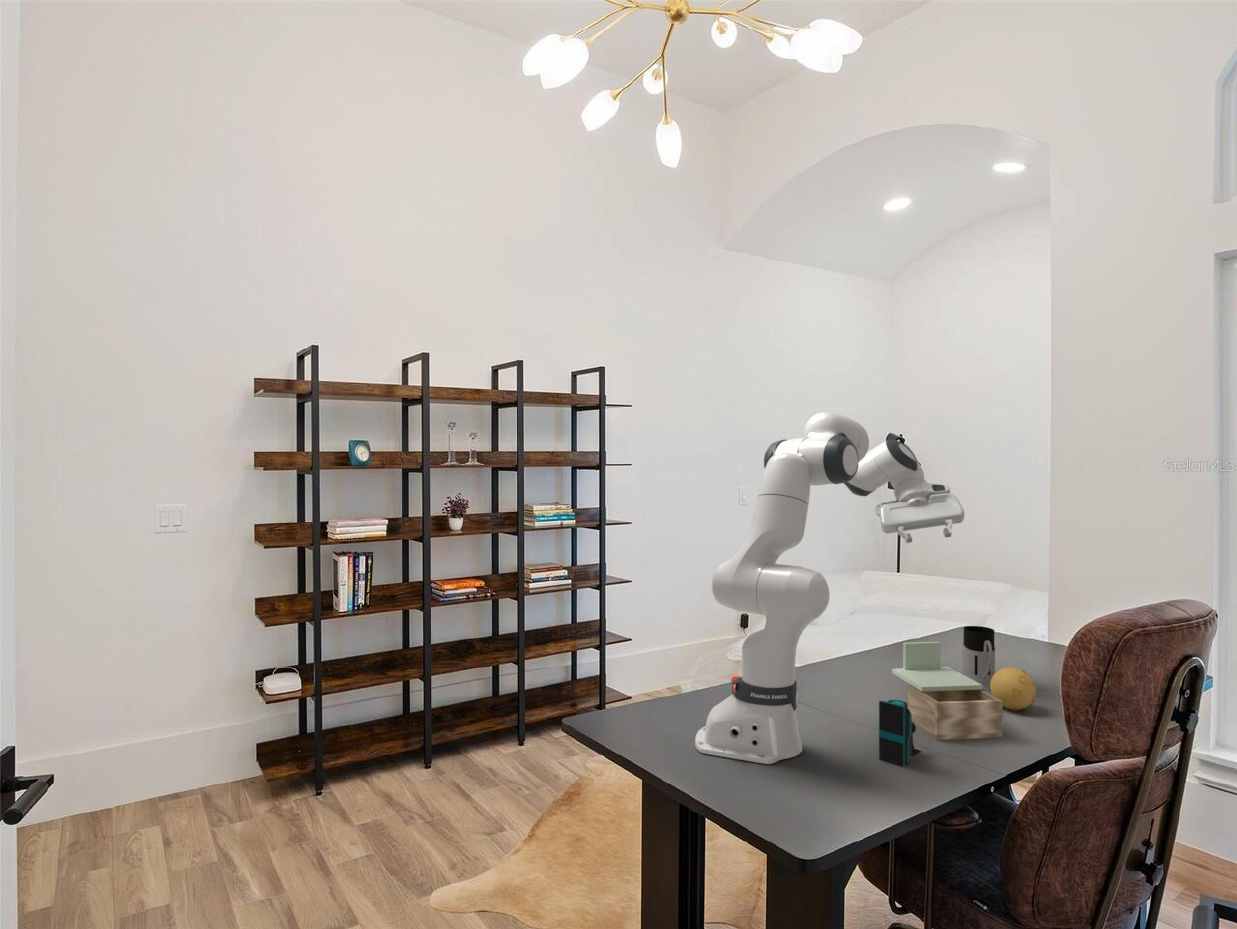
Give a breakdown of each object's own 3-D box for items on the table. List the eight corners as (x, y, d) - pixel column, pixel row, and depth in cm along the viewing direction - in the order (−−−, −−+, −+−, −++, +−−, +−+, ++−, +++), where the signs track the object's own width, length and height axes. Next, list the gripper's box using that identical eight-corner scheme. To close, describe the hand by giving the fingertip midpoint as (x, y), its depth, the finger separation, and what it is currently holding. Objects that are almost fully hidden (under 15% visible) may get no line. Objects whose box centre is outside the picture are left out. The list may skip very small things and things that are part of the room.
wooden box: (936, 739, 159) (937, 703, 159) (907, 718, 172) (907, 684, 172) (1001, 737, 161) (1002, 701, 161) (967, 716, 174) (968, 682, 174)
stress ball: (985, 710, 180) (1000, 694, 173) (983, 673, 186) (997, 656, 179) (1028, 719, 179) (1045, 704, 171) (1025, 681, 185) (1041, 665, 177)
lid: (921, 691, 166) (921, 659, 166) (892, 672, 180) (892, 642, 180) (982, 689, 168) (982, 657, 168) (948, 671, 182) (948, 641, 182)
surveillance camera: (925, 695, 152) (904, 707, 145) (925, 753, 153) (904, 767, 146) (899, 689, 156) (877, 700, 149) (898, 745, 157) (877, 759, 150)
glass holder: (990, 680, 201) (991, 626, 201) (1008, 697, 187) (1009, 639, 187) (956, 678, 203) (957, 624, 202) (972, 695, 189) (972, 637, 188)
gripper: (873, 496, 194) (885, 536, 184) (954, 484, 190) (972, 524, 180) (874, 512, 199) (886, 552, 189) (953, 500, 194) (970, 540, 185)
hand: (928, 538), depth 184 cm, fingers open, 8 cm apart
